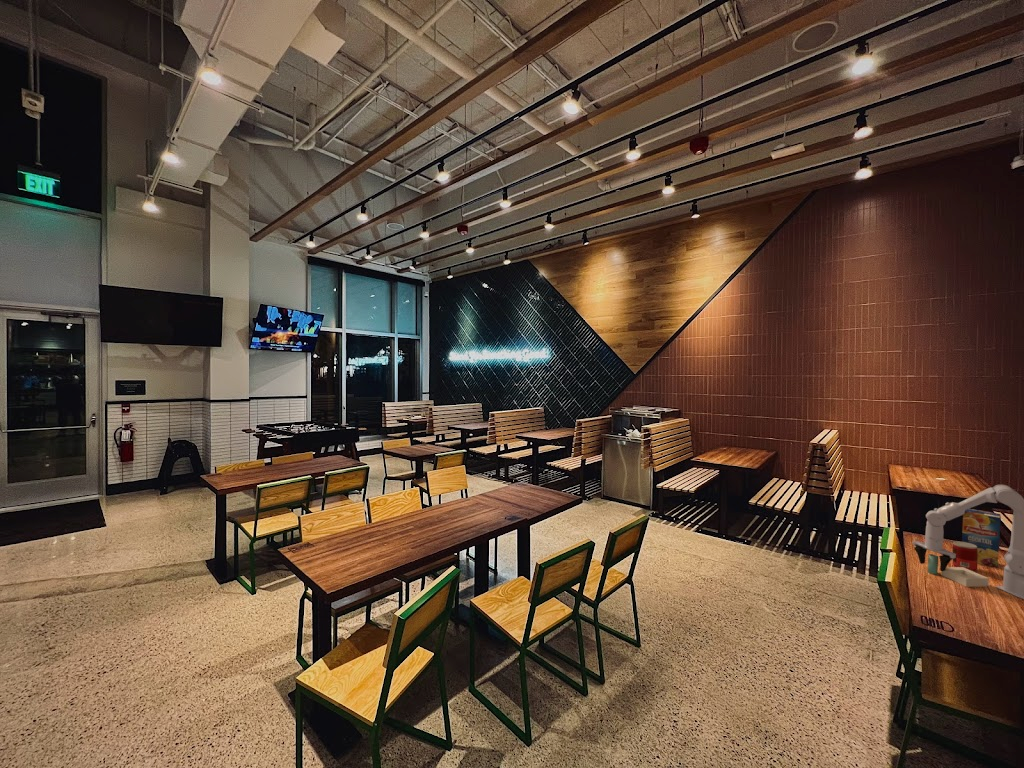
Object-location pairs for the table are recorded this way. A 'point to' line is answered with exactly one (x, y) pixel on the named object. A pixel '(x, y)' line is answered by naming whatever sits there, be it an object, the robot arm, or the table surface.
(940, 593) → the table surface
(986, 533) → the juice carton
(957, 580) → the socket block
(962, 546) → the canned food
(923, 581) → the table surface
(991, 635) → the table surface
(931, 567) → the peg
